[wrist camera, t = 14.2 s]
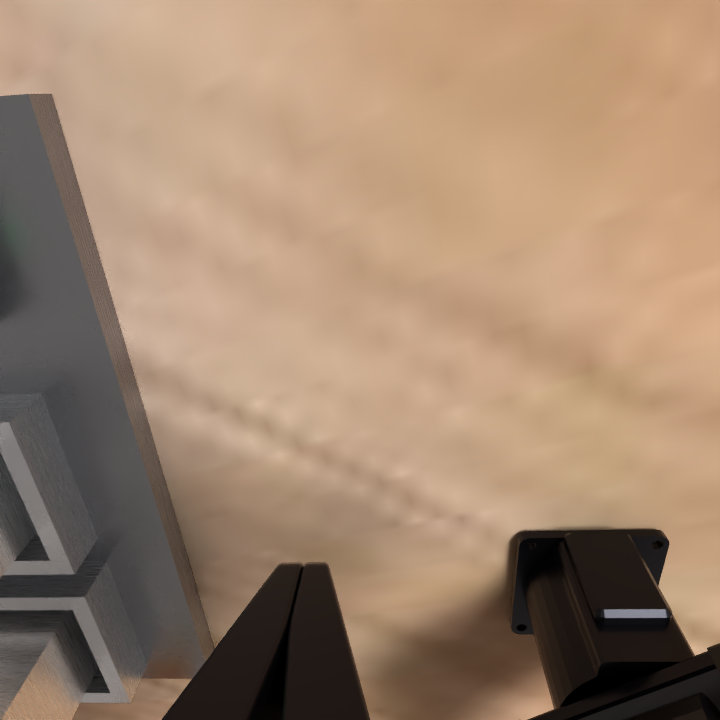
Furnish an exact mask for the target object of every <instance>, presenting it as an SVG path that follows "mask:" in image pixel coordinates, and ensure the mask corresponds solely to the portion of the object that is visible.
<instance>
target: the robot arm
mask: <svg viewBox="0 0 720 720" xmlns="http://www.w3.org/2000/svg"><path fill="white" fill-rule="evenodd" d="M655 541H656V542H655ZM529 542H532V543H529ZM527 543H529V544H527ZM668 547H669V540H668V539H667V537H666V536H665V534H664V533H663V532H662V531H660V530H594V531H529V532H524V533H522V534H520V535H519V536H518V538H517V545H516V556H515V568H514V579H513V590H512V601H511V612H510V624H511V629H512V631H513V632H514V633H516V634H534V636H535V640H536V644H537V647H538V651H539V655H540V658H541V662H542V666H543V670H544V673H545V677H546V681H547V684H548V688H549V692H550V696H551V699H552V703H553V707H554V710H551V711H549V712H546V713H543V714H541V715H538V716H536V717H533V718H530V719H528V720H720V643H719V644H716V645H714V646H711V647H708V648H707V650H708V651H707V652H704V653H701V654H699V655H696V656H695V655H694V653H693V651H692V649H691V647H690V646H689V644H688V642H687V640H686V638H685V636H684V635H683V633H682V631H681V629H680V627H679V625H678V624H677V622H676V620H675V618H674V616H673V614H672V611H671V609H670V607H669V605H668V603H667V601H666V600H665V598H664V596H663V594H662V592H661V590H660V589H659V587H658V585H659V581H660V577H661V573H662V570H663V566H664V562H665V558H666V555H667V551H668ZM162 720H370V717H369V713H368V710H367V706H366V702H365V698H364V695H363V691H362V687H361V684H360V680H359V676H358V672H357V669H356V665H355V661H354V657H353V654H352V650H351V646H350V643H349V639H348V635H347V631H346V628H345V624H344V620H343V616H342V613H341V609H340V605H339V602H338V598H337V594H336V590H335V587H334V583H333V579H332V575H331V572H330V568H329V565H328V564H327V563H326V562H308V563H306V564H305V565H303V564H302V563H281V564H279V565H278V566H277V567H276V568H275V570H274V571H273V572H272V574H271V575H270V576H269V578H268V579H267V580H266V582H265V583H264V584H263V586H262V587H261V588H260V590H259V591H258V592H257V594H256V595H255V596H254V598H253V599H252V600H251V602H250V603H249V604H248V605H247V607H246V608H245V609H244V611H243V612H242V613H241V615H240V616H239V617H238V619H237V620H236V621H235V623H234V624H233V625H232V627H231V628H230V629H229V631H228V632H227V633H226V635H225V636H224V637H223V639H222V640H221V641H220V643H219V644H218V645H217V647H216V648H215V649H214V651H213V652H212V653H211V655H210V656H209V657H208V659H207V660H206V661H205V663H204V664H203V665H202V667H201V668H200V669H199V671H198V672H197V673H196V675H195V676H194V677H193V679H192V680H191V681H190V683H189V684H188V685H187V687H186V688H185V689H184V691H183V692H182V693H181V695H180V696H179V697H178V699H177V700H176V701H175V703H174V704H173V705H172V707H171V708H170V709H169V711H168V712H167V713H166V715H165V716H164V717H163V719H162Z"/></svg>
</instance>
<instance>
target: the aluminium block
mask: <svg viewBox="0 0 720 720" xmlns="http://www.w3.org/2000/svg"><path fill="white" fill-rule="evenodd" d="M36 533H37V531H36V529H35V526H34V524H33V522H32V520H31V518H30V515H29V513H28V511H27V509H26V507H25V505H24V502H23V500H22V498H21V496H20V494H19V491H18V489H17V487H16V485H15V483H14V480H13V478H12V476H11V474H10V472H9V470H8V467H7V465H6V463H5V461H4V459H3V456H2V454H1V452H0V578H1V577H2V575H3V574H4V573H5V572H6V570H7V569H8V568H9V567H10V565H11V564H12V563H13V562H14V560H15V559H16V558H17V557H18V555H19V554H20V553H21V552H22V550H23V549H24V548H25V547H26V545H27V544H28V543H29V542H30V540H31V539H32V538H33V537H34V535H35V534H36Z"/></svg>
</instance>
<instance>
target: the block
mask: <svg viewBox="0 0 720 720" xmlns="http://www.w3.org/2000/svg"><path fill="white" fill-rule="evenodd" d="M97 669H98V664H97V662H96V660H95V658H94V656H93V653H92V651H91V649H90V647H89V645H88V642H87V640H86V638H85V636H84V634H83V632H82V629H81V627H80V625H79V623H78V621H77V618H76V616H75V614H74V612H73V610H0V720H72V718H73V716H74V714H75V712H76V710H77V708H78V706H79V704H80V702H81V700H82V698H83V696H84V694H85V692H86V690H87V688H88V686H89V684H90V682H91V680H92V678H93V677H94V675H95V673H96V671H97Z"/></svg>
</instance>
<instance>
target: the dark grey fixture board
mask: <svg viewBox="0 0 720 720" xmlns="http://www.w3.org/2000/svg"><path fill="white" fill-rule="evenodd" d="M0 452H1V454H2V456H3V459H4V461H5V463H6V465H7V467H8V470H9V472H10V474H11V476H12V478H13V480H14V483H15V485H16V487H17V489H18V491H19V494H20V496H21V498H22V500H23V502H24V505H25V507H26V509H27V511H28V513H29V515H30V518H31V520H32V522H33V524H34V526H35V529H36V531H37V533H36V534H35V535H34V537H33V538H32V539H31V540H30V542H29V543H28V544H27V545H26V547H25V548H24V549H23V550H22V552H21V553H20V554H19V555H18V557H17V558H16V559H15V560H14V562H13V563H12V564H11V565H10V567H9V568H8V569H7V570H6V572H5V573H4V574H3V575H2V577H1V578H0V610H73V612H74V614H75V616H76V618H77V621H78V623H79V625H80V627H81V629H82V632H83V634H84V636H85V638H86V640H87V642H88V645H89V647H90V649H91V651H92V653H93V656H94V658H95V660H96V662H97V664H98V669H97V671H96V673H95V675H94V677H93V678H92V680H91V682H90V684H89V686H88V688H87V690H86V692H85V694H84V696H83V698H82V700H81V702H80V703H131V701H132V699H133V697H134V694H135V692H136V689H137V687H138V685H139V682H140V680H141V678H186V679H193V677H194V676H195V675H196V673H197V672H198V671H199V669H200V668H201V667H202V665H203V664H204V663H205V661H206V660H207V659H208V657H209V656H210V655H211V653H212V652H213V651H214V645H213V642H212V639H211V635H210V632H209V628H208V625H207V622H206V618H205V615H204V611H203V608H202V605H201V601H200V598H199V594H198V591H197V588H196V584H195V581H194V577H193V574H192V570H191V567H190V564H189V560H188V557H187V553H186V550H185V547H184V543H183V540H182V536H181V533H180V530H179V526H178V523H177V519H176V516H175V513H174V509H173V506H172V502H171V499H170V496H169V492H168V489H167V485H166V482H165V479H164V475H163V472H162V468H161V465H160V462H159V458H158V455H157V451H156V448H155V445H154V441H153V438H152V434H151V431H150V428H149V424H148V421H147V417H146V414H145V410H144V407H143V404H142V400H141V397H140V393H139V390H138V387H137V383H136V380H135V376H134V373H133V370H132V366H131V363H130V359H129V356H128V353H127V349H126V346H125V342H124V339H123V336H122V332H121V329H120V325H119V322H118V319H117V315H116V312H115V308H114V305H113V302H112V298H111V295H110V291H109V288H108V285H107V281H106V278H105V274H104V271H103V268H102V264H101V261H100V257H99V254H98V250H97V247H96V244H95V240H94V237H93V233H92V230H91V227H90V223H89V220H88V216H87V213H86V210H85V206H84V203H83V199H82V196H81V193H80V189H79V186H78V182H77V179H76V176H75V172H74V169H73V165H72V162H71V159H70V155H69V152H68V148H67V145H66V142H65V138H64V135H63V131H62V128H61V125H60V121H59V118H58V114H57V111H56V108H55V104H54V101H53V97H52V94H24V95H11V96H0Z"/></svg>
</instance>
